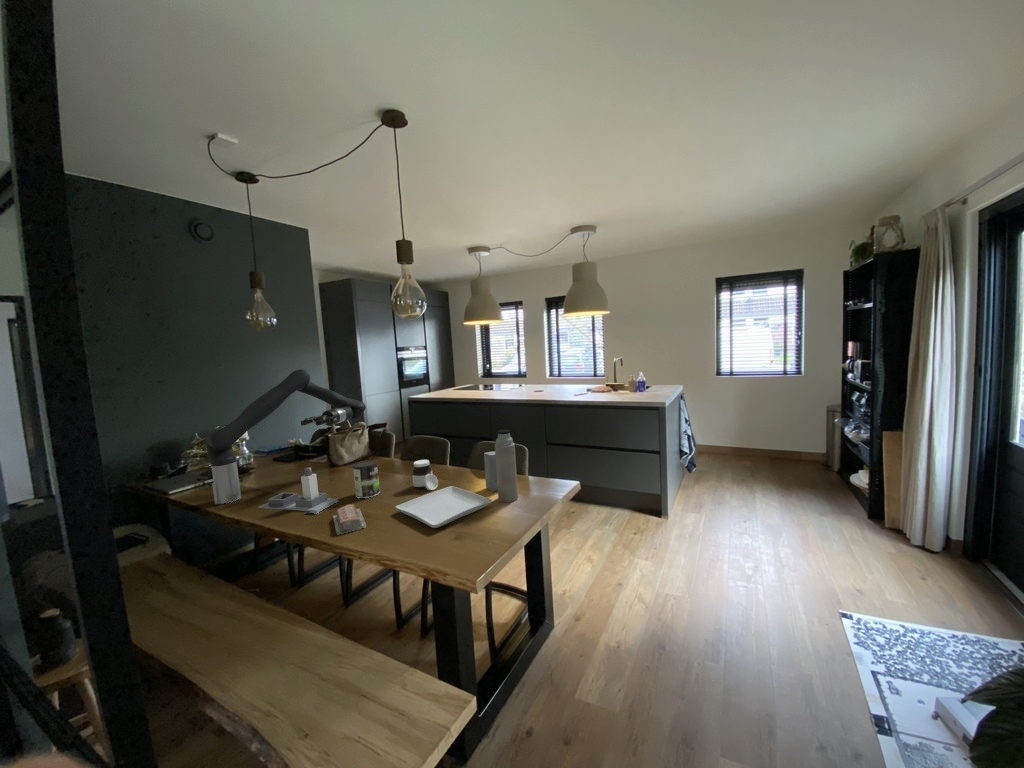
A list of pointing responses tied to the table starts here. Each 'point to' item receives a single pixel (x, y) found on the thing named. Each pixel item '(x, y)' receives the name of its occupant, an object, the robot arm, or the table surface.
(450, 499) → the square plate
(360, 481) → the coffee can
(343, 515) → the packaged product
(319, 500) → the panel
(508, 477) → the thermos bottle
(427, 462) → the spread jar
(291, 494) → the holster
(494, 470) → the skincare box
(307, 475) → the plug
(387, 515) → the table surface
